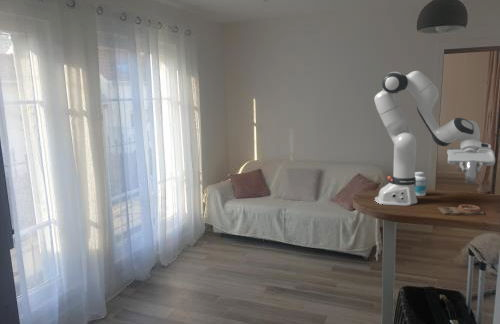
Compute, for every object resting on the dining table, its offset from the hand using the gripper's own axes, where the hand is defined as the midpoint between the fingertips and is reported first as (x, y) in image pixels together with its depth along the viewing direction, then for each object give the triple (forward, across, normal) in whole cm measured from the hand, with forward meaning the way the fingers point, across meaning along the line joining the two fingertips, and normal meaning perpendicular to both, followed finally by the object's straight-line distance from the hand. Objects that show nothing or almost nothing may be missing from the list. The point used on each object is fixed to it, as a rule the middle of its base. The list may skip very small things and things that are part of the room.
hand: (470, 171), depth 179 cm
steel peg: (+4, 0, +5) cm, 6 cm away
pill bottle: (-5, -24, +35) cm, 43 cm away
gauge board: (+15, -4, +14) cm, 21 cm away
